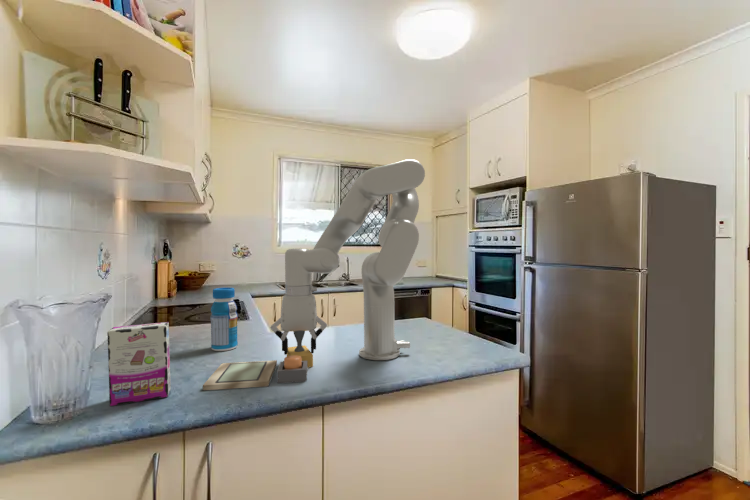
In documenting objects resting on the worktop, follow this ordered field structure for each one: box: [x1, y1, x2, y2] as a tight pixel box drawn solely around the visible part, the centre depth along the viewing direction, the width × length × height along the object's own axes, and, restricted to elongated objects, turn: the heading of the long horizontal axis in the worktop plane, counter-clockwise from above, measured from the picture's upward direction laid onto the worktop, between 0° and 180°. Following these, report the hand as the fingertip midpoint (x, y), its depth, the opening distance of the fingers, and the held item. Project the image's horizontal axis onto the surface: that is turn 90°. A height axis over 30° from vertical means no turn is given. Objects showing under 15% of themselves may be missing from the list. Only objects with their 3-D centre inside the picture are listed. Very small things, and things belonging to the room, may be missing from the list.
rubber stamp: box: [286, 331, 314, 369], centre depth 103 cm, size 10×6×12 cm, turn 23°
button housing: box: [276, 361, 308, 384], centre depth 92 cm, size 7×7×3 cm
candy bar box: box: [106, 321, 172, 407], centre depth 80 cm, size 11×5×16 cm, turn 114°
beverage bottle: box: [209, 287, 239, 352], centre depth 119 cm, size 8×8×20 cm
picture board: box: [202, 359, 278, 391], centre depth 93 cm, size 15×16×1 cm
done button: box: [283, 355, 302, 369], centre depth 92 cm, size 4×4×4 cm
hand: (299, 352), depth 103 cm, fingers closed on rubber stamp, 6 cm apart
